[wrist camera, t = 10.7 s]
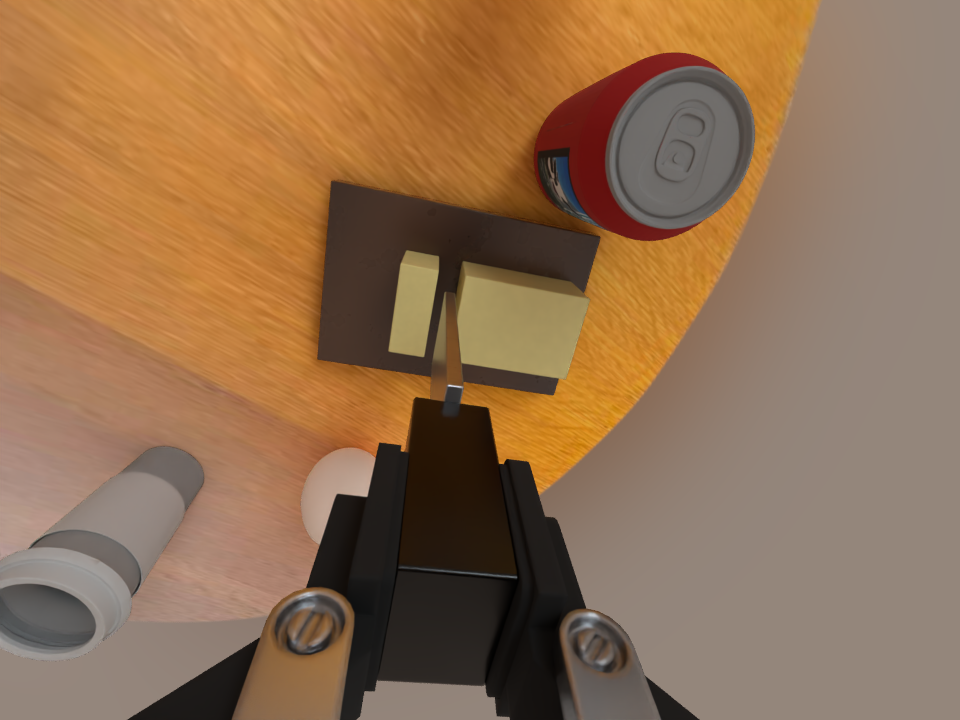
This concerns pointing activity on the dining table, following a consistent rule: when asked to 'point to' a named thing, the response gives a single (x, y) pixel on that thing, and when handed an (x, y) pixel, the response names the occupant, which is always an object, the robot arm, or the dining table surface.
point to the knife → (449, 536)
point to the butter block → (518, 320)
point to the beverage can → (648, 147)
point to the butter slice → (414, 303)
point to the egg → (334, 485)
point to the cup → (95, 559)
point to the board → (454, 238)
